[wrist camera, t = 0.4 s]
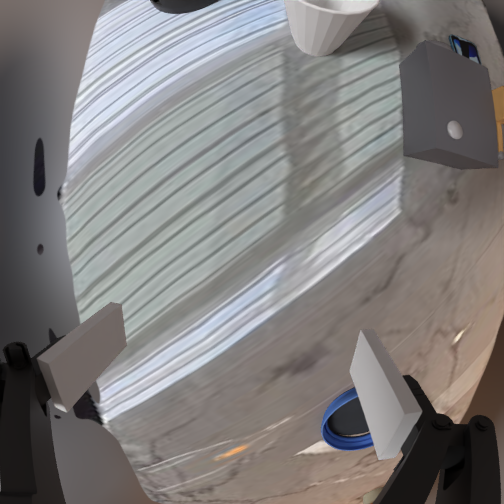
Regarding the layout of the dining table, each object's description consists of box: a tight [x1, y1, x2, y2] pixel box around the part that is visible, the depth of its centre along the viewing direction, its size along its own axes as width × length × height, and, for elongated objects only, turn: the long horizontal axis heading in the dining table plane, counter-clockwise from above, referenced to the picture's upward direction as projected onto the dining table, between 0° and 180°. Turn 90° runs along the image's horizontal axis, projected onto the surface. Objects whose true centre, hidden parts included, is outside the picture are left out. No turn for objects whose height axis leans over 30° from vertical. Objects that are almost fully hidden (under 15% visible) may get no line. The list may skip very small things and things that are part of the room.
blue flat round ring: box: [321, 388, 374, 451], centre depth 45 cm, size 18×18×4 cm
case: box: [399, 40, 498, 170], centre depth 29 cm, size 18×12×11 cm, turn 177°
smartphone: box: [449, 34, 482, 65], centre depth 31 cm, size 7×1×15 cm
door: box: [492, 86, 504, 160], centre depth 27 cm, size 11×2×14 cm, turn 177°
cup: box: [284, 0, 380, 56], centre depth 26 cm, size 12×12×16 cm
